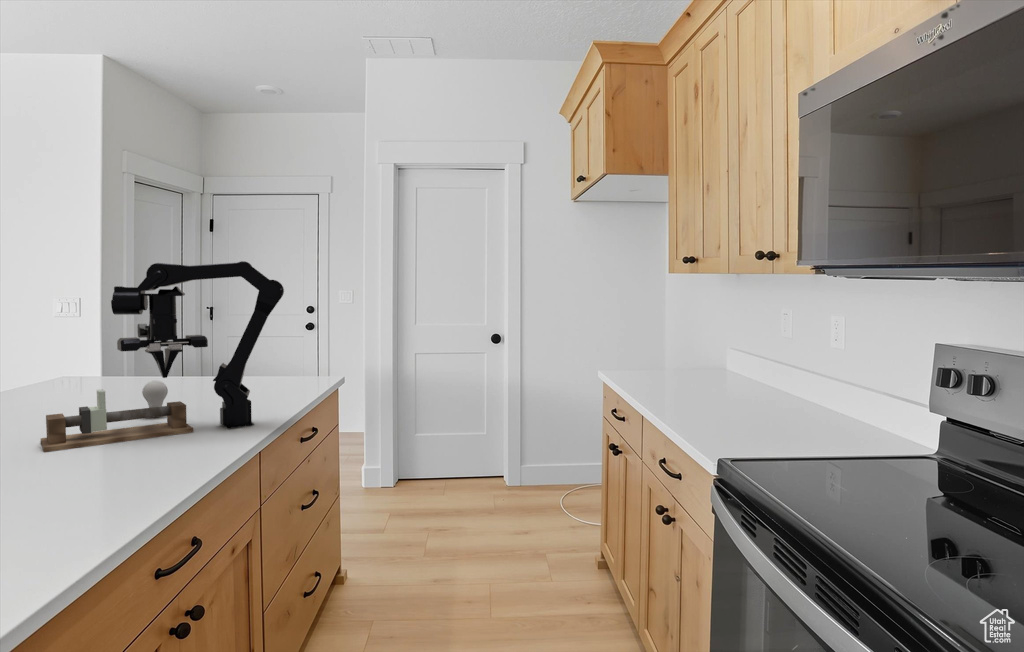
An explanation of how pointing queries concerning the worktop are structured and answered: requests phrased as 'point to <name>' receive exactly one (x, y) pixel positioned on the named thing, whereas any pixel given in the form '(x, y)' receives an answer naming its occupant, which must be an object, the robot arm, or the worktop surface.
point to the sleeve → (99, 413)
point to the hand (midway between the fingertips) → (164, 377)
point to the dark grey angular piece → (85, 420)
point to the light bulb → (155, 393)
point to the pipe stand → (62, 441)
